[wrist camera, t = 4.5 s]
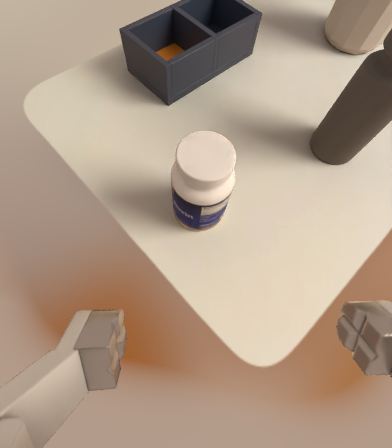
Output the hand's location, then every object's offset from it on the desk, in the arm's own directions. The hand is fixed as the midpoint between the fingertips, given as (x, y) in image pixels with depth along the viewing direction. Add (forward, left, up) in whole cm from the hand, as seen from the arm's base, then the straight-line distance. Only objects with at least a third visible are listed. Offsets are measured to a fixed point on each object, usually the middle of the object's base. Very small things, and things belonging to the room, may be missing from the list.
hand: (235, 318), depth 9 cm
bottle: (+18, +21, -16) cm, 32 cm away
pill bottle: (0, +12, -16) cm, 20 cm away
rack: (0, +37, -15) cm, 40 cm away
